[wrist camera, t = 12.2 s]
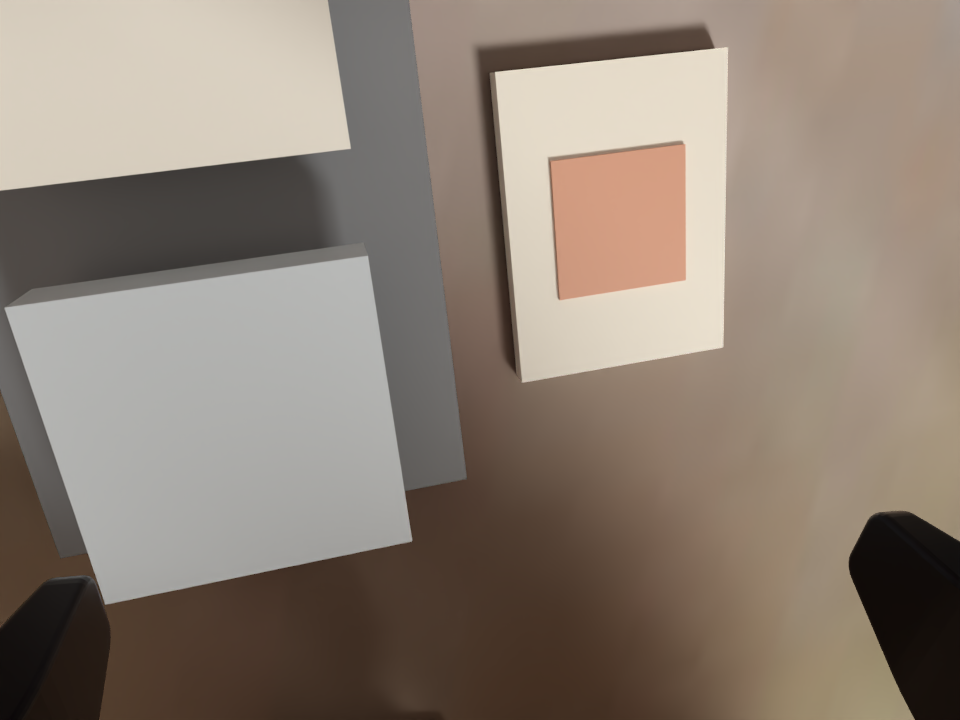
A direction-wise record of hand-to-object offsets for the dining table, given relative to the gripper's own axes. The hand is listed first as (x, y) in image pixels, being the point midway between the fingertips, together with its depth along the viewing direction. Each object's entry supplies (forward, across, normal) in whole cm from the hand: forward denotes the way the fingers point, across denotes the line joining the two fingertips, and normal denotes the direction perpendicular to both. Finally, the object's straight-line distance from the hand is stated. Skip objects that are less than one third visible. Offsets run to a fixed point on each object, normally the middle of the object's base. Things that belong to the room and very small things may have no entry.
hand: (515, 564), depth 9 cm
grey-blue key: (+8, +4, +4) cm, 10 cm away
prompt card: (+12, -5, +1) cm, 13 cm away
